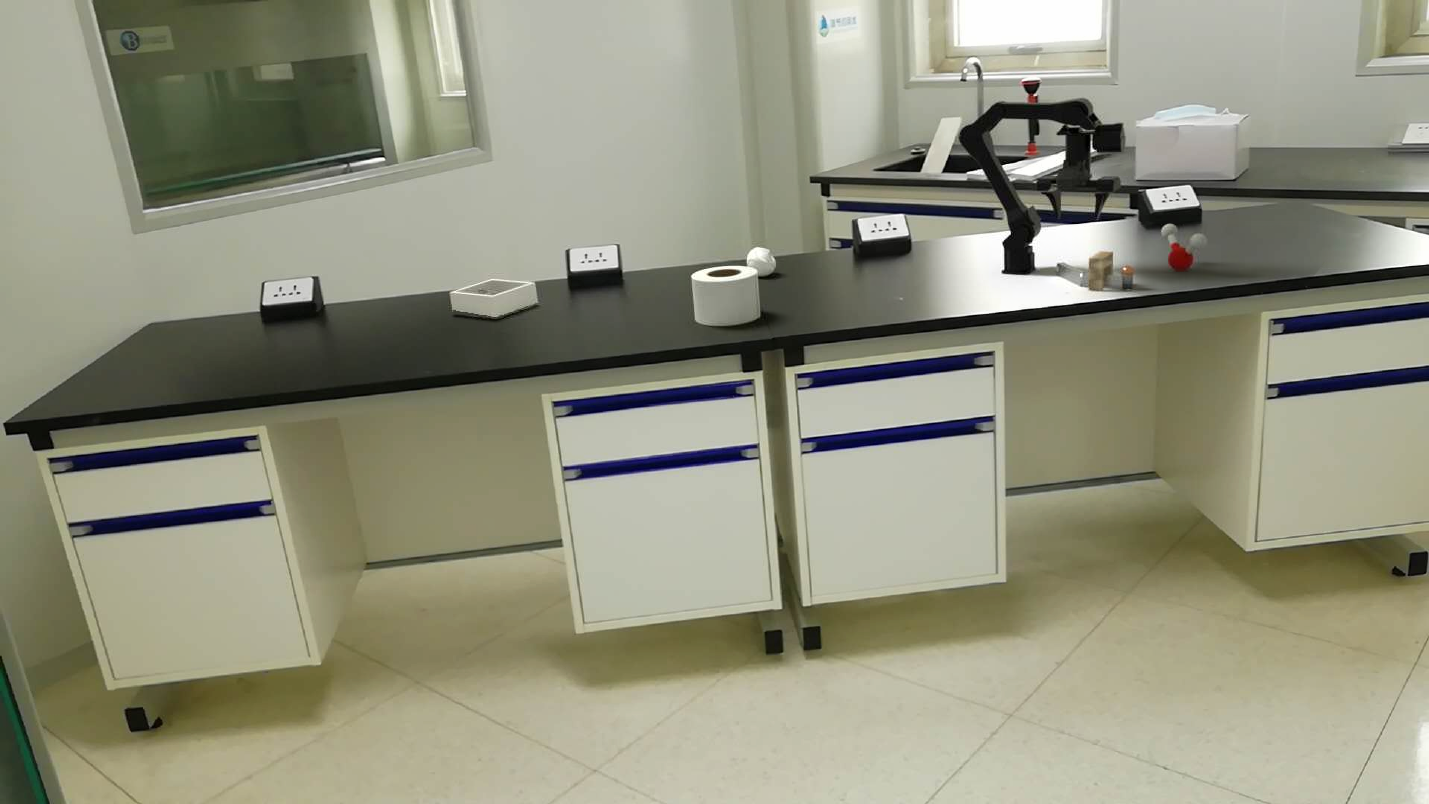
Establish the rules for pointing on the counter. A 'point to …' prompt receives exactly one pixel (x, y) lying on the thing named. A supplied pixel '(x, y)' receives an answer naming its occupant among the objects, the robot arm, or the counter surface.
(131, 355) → the counter surface
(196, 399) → the counter surface
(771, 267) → the crumpled paper ball
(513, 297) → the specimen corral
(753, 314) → the toilet paper roll
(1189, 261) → the molecular model
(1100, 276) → the arch
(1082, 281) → the bent rail
